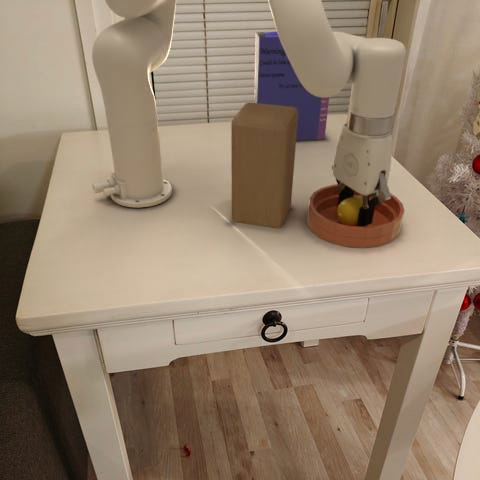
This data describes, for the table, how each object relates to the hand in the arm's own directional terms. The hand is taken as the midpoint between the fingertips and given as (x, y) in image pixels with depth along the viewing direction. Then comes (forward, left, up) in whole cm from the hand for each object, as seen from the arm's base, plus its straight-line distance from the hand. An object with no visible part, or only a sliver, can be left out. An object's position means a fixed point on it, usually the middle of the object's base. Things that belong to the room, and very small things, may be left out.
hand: (354, 217), depth 101 cm
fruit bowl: (0, 0, -2) cm, 2 cm away
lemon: (0, 0, -1) cm, 1 cm away
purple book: (+14, +42, -2) cm, 44 cm away
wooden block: (-13, +12, -2) cm, 18 cm away
